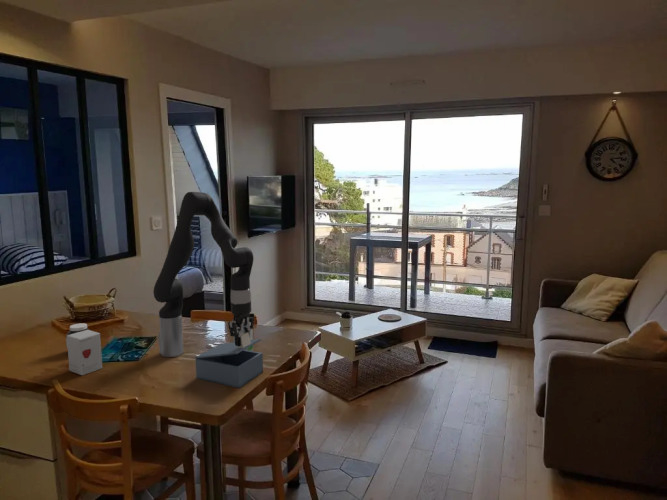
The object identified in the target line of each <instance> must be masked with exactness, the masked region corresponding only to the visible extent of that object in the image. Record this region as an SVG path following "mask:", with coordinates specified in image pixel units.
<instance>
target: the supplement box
mask: <svg viewBox="0 0 667 500" xmlns="http://www.w3.org/2000/svg"><path fill="white" fill-rule="evenodd" d="M66 335H67V334H66ZM67 345H68V349H67V355H68V368H69V369H68V370H69V371H70V372H72V373H75V374H78V375H80V376H84V375H88V374H89V373H93V372H95V371H98V370H101V369H103V357H102V343H101V333H100V332H98V331H94V330H90V329H89V330H85V331H81V332H77V333H74V334H70V335H67ZM67 345H66V346H67Z"/></svg>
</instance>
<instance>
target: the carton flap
mask: <svg viewBox="0 0 667 500" xmlns="http://www.w3.org/2000/svg"><path fill="white" fill-rule="evenodd" d="M240 337H241V346H236V345H235V342H234V341H233V342H232V341H231V342H225V343H224V342H223V343H220V344H218V345H216V346H214V347H212V348H211V349H208V350H207V351H205V352H202V353H200V354H198V355H196V356H195V357H194V359H195V360H196V359H197V358H206V357H215V356H224V355H233V354H238V353H239V352H241V351H243V350H245V349H247V348H248V347H250V346H252V345H253V346H254V345H255V344H257V343H259V342H261V341H262V339H261V338H257V339H253V340H250V337H249V333H248V332H247V333H242V334H241V336H240Z"/></svg>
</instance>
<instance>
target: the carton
mask: <svg viewBox="0 0 667 500" xmlns="http://www.w3.org/2000/svg"><path fill="white" fill-rule="evenodd" d="M263 355H264V353H263V352H259V351H253V350H252V351H249V350H243V351H241V352H239V353H238V354H233V355H224V356H215V357H206V358H197V359H196V358H195V376H196V378H195V379H197V380H201V381H205V382H209V383H210V382H211V383H214V384H219V385H224V386H226V387H233V388H237V389H241V388H242V387H243V386H245V385H246V384H247V383H249V382H251V381H252V380H253V379H255V378H257V377H258V376H259V375H261V374H262V373H264V363H263V362H264V357H263Z"/></svg>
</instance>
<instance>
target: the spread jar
mask: <svg viewBox="0 0 667 500" xmlns="http://www.w3.org/2000/svg"><path fill="white" fill-rule="evenodd" d="M85 330H90V329H89V328H88V324H87V323H84V322H83V323H80V322H79V323H74V324H71V325H70V326H69V331H68V332H67V334H66V337H65V342H66V343H65V345H66V348H67V350H68V345H67V335H70V334H74V333H77V332H81V331H85Z"/></svg>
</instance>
